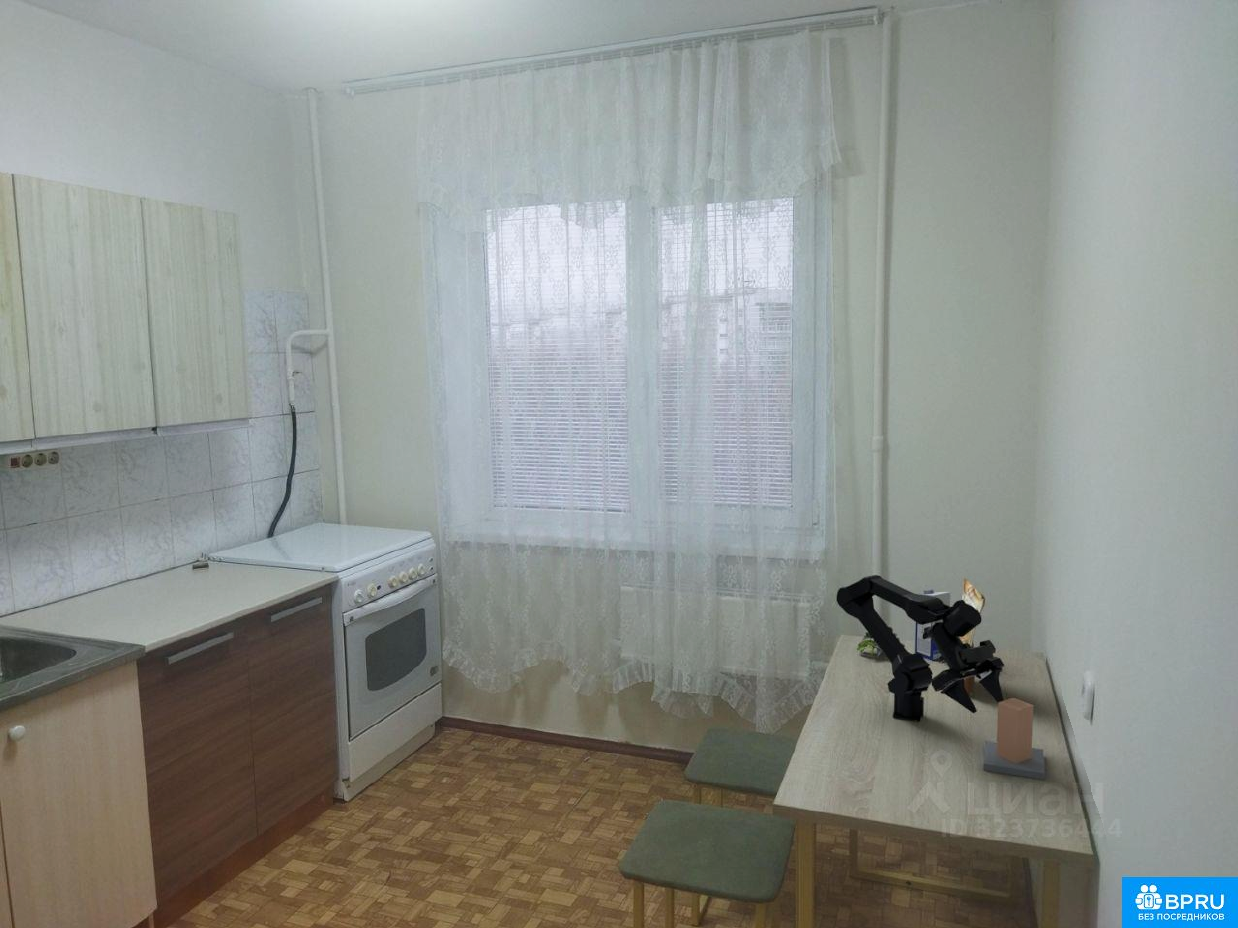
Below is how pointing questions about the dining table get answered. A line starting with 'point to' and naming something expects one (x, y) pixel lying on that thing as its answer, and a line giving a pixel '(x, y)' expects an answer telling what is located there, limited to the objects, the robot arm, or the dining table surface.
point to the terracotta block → (1014, 730)
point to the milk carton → (927, 645)
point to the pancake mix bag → (978, 602)
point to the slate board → (1024, 768)
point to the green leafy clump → (871, 644)
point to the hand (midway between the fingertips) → (989, 707)
